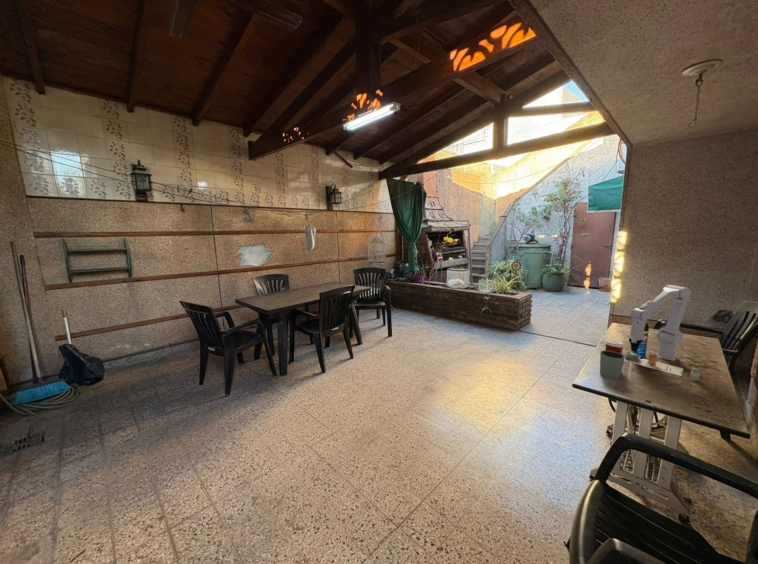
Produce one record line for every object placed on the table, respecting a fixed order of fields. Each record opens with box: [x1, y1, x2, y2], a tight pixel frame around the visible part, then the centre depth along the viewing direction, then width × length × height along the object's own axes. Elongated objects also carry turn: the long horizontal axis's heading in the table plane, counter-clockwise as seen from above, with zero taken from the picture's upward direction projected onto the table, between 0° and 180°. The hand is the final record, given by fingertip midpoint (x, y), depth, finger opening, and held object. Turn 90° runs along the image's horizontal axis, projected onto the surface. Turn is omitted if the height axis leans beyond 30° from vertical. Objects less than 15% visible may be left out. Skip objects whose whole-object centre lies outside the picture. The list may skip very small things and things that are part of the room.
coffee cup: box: [604, 339, 625, 355], centre depth 161 cm, size 8×8×15 cm
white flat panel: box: [624, 358, 684, 378], centre depth 164 cm, size 12×24×1 cm, turn 41°
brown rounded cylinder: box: [647, 352, 658, 366], centre depth 163 cm, size 3×3×6 cm
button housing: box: [624, 352, 642, 363], centre depth 170 cm, size 6×6×2 cm
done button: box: [628, 352, 638, 358], centre depth 170 cm, size 4×4×2 cm
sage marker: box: [689, 367, 702, 383], centre depth 147 cm, size 3×3×6 cm
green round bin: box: [599, 350, 626, 380], centre depth 153 cm, size 10×10×12 cm
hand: (633, 351), depth 169 cm, fingers closed
